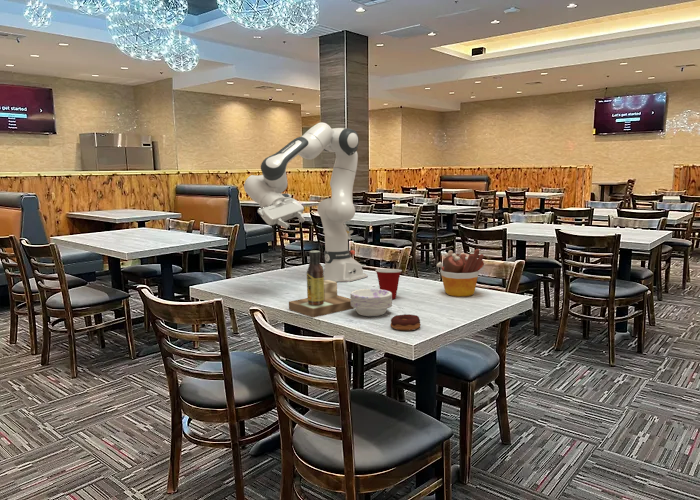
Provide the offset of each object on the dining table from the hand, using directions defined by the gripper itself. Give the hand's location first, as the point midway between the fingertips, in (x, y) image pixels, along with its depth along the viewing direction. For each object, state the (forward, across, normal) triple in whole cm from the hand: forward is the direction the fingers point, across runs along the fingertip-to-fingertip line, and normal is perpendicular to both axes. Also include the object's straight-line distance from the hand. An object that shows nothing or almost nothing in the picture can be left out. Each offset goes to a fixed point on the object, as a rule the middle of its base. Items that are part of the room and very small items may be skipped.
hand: (295, 223), depth 219 cm
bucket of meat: (+66, +35, -2) cm, 75 cm away
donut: (+65, -18, -12) cm, 68 cm away
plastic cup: (+46, +14, +8) cm, 49 cm away
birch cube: (+30, -7, +12) cm, 33 cm away
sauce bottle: (+32, -18, +8) cm, 38 cm away
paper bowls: (+50, -9, +1) cm, 51 cm away
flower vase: (+2, +56, +49) cm, 75 cm away
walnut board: (+33, -13, +12) cm, 38 cm away
